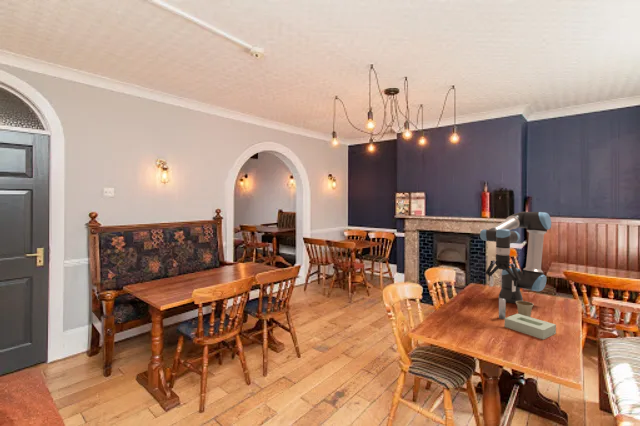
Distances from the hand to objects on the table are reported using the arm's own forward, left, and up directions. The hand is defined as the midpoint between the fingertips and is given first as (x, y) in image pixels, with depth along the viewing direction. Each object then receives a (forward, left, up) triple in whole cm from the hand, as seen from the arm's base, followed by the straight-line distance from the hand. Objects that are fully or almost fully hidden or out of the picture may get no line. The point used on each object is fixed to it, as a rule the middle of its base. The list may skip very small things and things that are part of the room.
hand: (502, 288), depth 196 cm
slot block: (+5, +18, -18) cm, 26 cm away
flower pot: (-14, +6, -19) cm, 24 cm away
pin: (0, 0, -18) cm, 19 cm away
